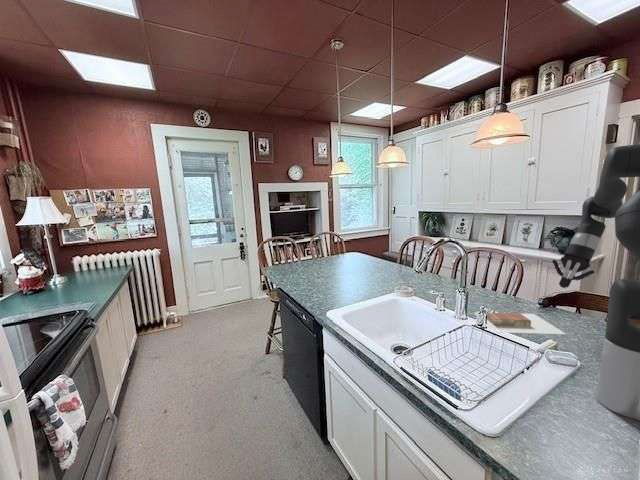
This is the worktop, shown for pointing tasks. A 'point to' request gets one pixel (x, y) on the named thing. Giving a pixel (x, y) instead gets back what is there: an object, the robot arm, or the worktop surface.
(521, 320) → the wooden tile
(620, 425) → the worktop surface
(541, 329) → the rubber mat
